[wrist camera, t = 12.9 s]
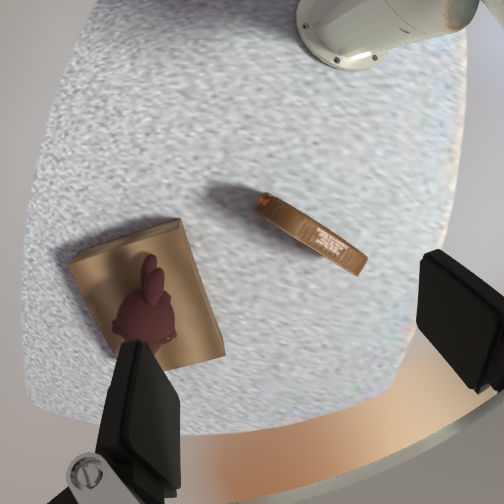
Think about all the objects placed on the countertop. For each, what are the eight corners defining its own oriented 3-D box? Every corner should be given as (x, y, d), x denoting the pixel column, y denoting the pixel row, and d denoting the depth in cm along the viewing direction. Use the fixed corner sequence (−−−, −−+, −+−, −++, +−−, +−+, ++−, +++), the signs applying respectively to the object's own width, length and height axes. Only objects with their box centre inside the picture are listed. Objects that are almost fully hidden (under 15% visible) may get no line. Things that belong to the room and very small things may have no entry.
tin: (245, 204, 37) (259, 224, 29) (259, 181, 36) (277, 196, 29) (337, 260, 42) (366, 289, 35) (350, 241, 42) (382, 267, 34)
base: (180, 218, 36) (179, 228, 33) (222, 337, 44) (225, 355, 40) (78, 252, 35) (67, 265, 32) (133, 360, 43) (130, 378, 39)
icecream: (173, 395, 33) (200, 278, 30) (110, 394, 29) (122, 269, 26) (161, 360, 39) (182, 253, 36) (106, 357, 35) (118, 244, 32)
